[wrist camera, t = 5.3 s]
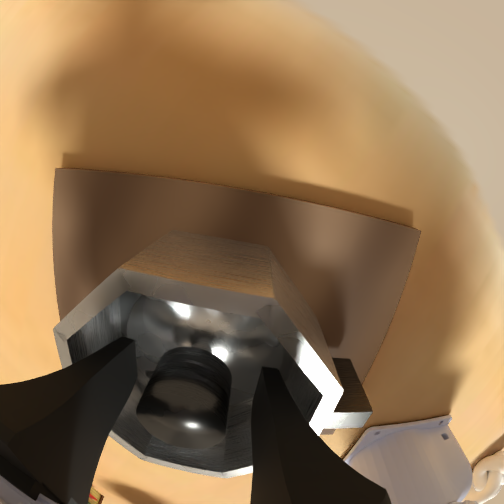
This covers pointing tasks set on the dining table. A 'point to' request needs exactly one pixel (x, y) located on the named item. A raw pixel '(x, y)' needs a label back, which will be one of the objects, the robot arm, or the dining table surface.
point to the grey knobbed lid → (196, 367)
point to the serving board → (245, 230)
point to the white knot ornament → (487, 478)
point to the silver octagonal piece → (226, 300)
